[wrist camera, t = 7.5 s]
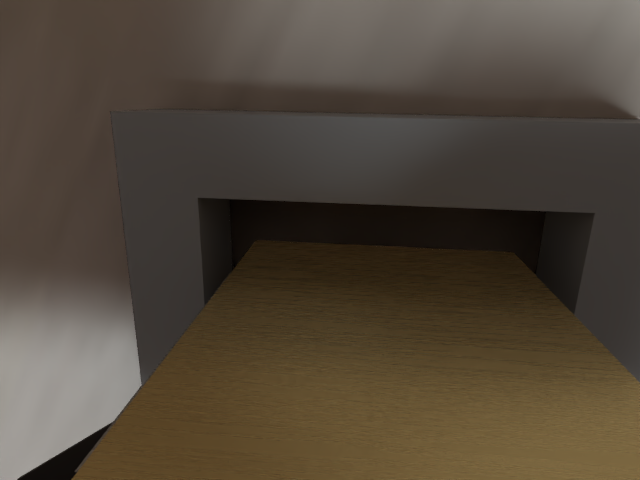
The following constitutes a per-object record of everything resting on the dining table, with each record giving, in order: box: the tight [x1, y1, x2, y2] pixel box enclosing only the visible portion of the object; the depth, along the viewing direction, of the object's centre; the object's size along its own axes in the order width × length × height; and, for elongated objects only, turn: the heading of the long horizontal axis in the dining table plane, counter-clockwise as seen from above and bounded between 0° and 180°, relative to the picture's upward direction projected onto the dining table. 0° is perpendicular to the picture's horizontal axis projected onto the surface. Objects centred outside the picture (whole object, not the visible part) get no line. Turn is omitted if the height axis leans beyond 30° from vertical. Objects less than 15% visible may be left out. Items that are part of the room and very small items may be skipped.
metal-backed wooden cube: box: [72, 240, 640, 480], centre depth 7 cm, size 6×5×6 cm
